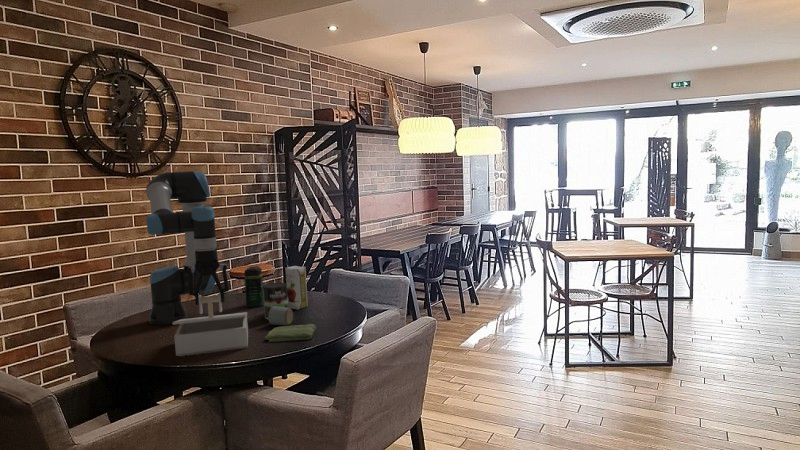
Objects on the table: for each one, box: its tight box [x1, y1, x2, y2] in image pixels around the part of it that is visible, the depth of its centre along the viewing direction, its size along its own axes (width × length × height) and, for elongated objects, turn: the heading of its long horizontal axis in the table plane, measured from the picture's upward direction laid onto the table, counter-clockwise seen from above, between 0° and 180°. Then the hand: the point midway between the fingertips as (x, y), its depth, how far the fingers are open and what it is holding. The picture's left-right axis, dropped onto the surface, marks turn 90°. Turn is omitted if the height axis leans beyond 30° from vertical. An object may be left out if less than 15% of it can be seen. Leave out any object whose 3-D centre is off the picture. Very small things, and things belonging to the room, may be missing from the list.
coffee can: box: [263, 282, 288, 321], centre depth 225 cm, size 10×10×14 cm
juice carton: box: [285, 265, 309, 310], centre depth 239 cm, size 8×9×19 cm
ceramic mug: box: [267, 306, 294, 326], centre depth 215 cm, size 11×8×8 cm
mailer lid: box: [172, 294, 248, 326], centre depth 191 cm, size 18×24×9 cm
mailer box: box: [173, 315, 249, 357], centre depth 191 cm, size 18×24×8 cm
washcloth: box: [265, 323, 317, 343], centre depth 198 cm, size 13×18×3 cm
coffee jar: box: [243, 265, 264, 308], centre depth 246 cm, size 10×8×19 cm
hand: (211, 312), depth 188 cm, fingers closed on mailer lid, 6 cm apart
